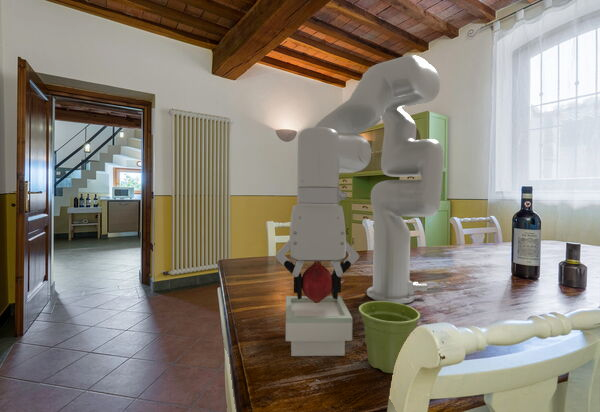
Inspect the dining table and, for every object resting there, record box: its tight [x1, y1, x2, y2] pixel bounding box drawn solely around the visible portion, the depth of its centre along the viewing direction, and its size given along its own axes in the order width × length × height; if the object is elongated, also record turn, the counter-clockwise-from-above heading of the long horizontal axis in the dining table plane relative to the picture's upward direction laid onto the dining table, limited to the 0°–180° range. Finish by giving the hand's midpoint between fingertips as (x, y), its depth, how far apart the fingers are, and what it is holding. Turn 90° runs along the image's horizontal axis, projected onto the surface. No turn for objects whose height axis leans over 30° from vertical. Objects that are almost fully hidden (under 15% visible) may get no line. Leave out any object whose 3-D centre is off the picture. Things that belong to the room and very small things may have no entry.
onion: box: [302, 261, 333, 303], centre depth 55 cm, size 6×6×8 cm
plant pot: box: [358, 300, 421, 374], centre depth 48 cm, size 9×9×9 cm
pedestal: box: [285, 295, 353, 357], centre depth 55 cm, size 11×11×7 cm
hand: (316, 295), depth 55 cm, fingers closed on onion, 5 cm apart
